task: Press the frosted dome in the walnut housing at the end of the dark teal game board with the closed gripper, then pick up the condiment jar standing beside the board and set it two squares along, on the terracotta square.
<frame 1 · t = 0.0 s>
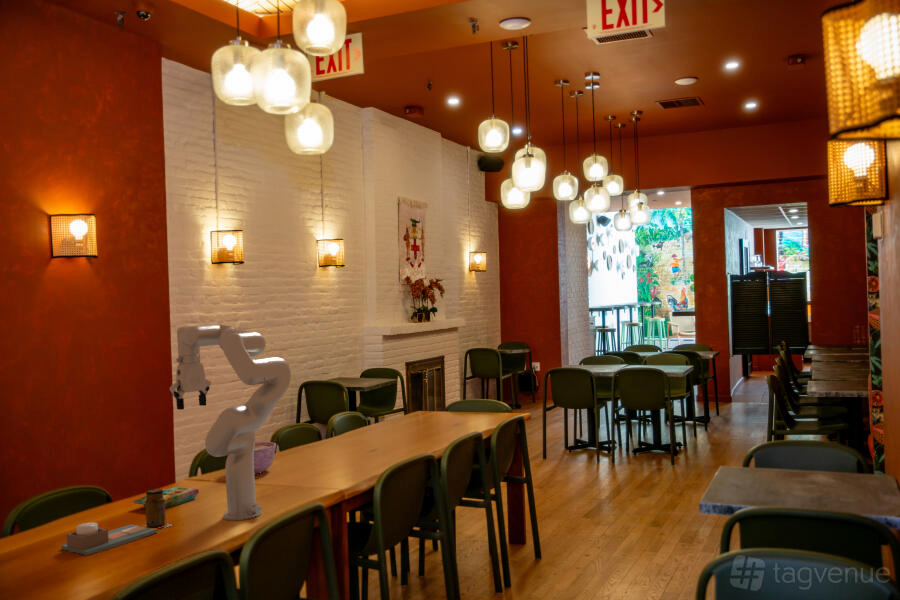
hand: (191, 407, 277), 37 cm above the table, tool pointing down, fingers open, 9 cm apart
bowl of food: (254, 473, 334), on the table
dome: (87, 530, 236), point 5 cm above the table, slide at -0.1 cm
board: (110, 541, 242), on the table
condiment: (157, 527, 256), on the table
puzzle game: (167, 505, 286), on the table
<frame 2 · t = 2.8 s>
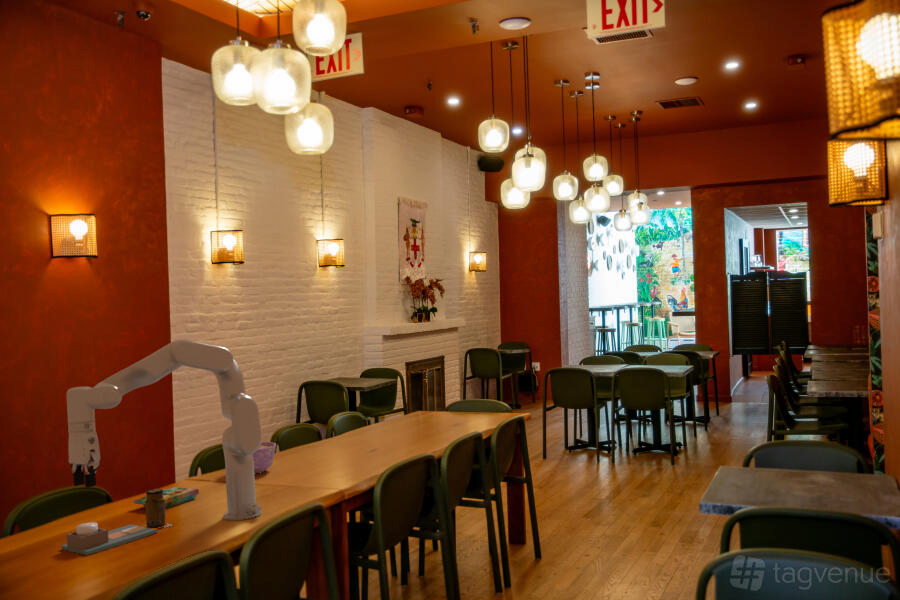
hand: (84, 485, 236), 19 cm above the table, tool pointing down, fingers open, 5 cm apart
nothing on the table moved.
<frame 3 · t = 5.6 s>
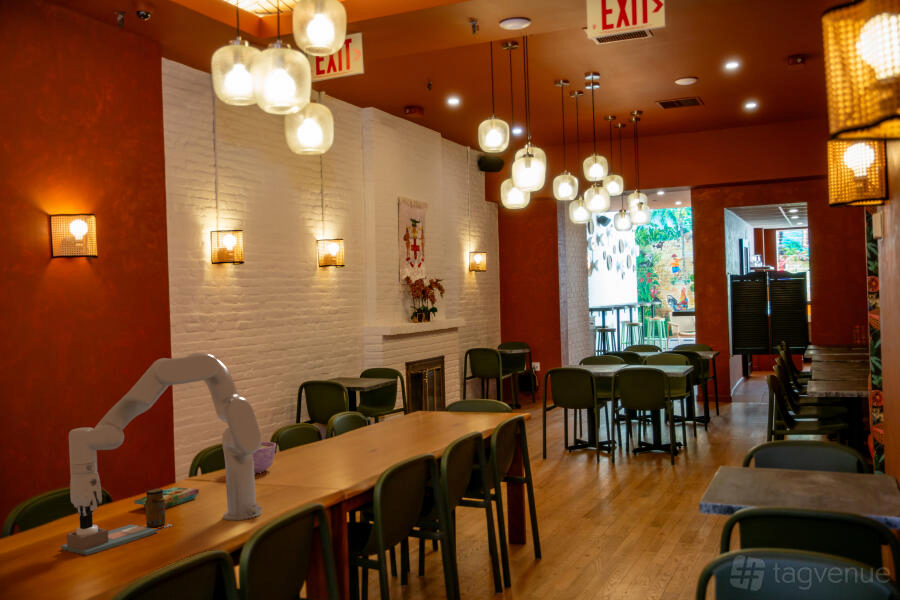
hand: (86, 527, 236), 6 cm above the table, tool pointing down, fingers closed
dome: (87, 532, 236), point 5 cm above the table, slide at -0.9 cm, touching gripper
everything else where it was.
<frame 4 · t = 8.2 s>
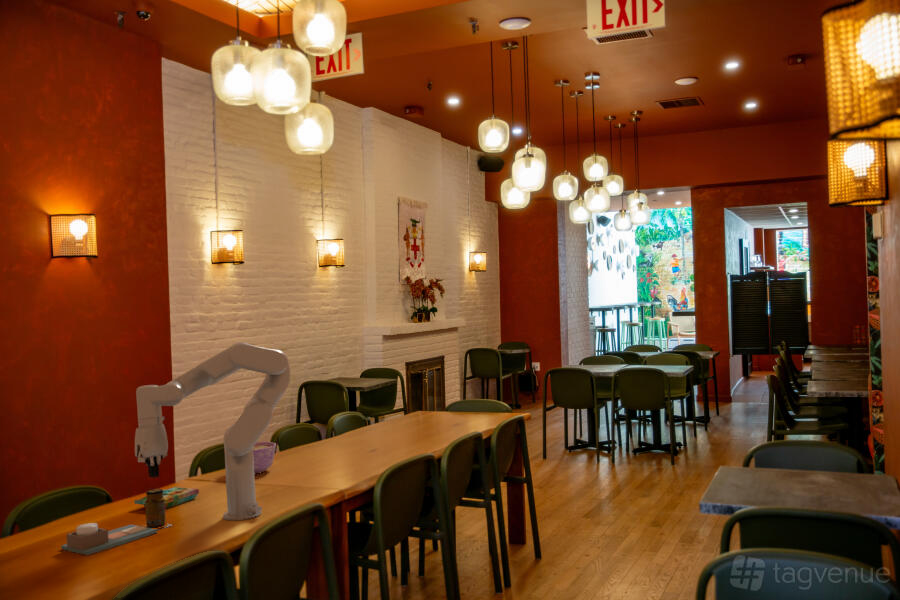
hand: (154, 476, 256), 17 cm above the table, tool pointing down, fingers closed
dome: (87, 531, 236), point 5 cm above the table, slide at -0.4 cm
everything else where it was.
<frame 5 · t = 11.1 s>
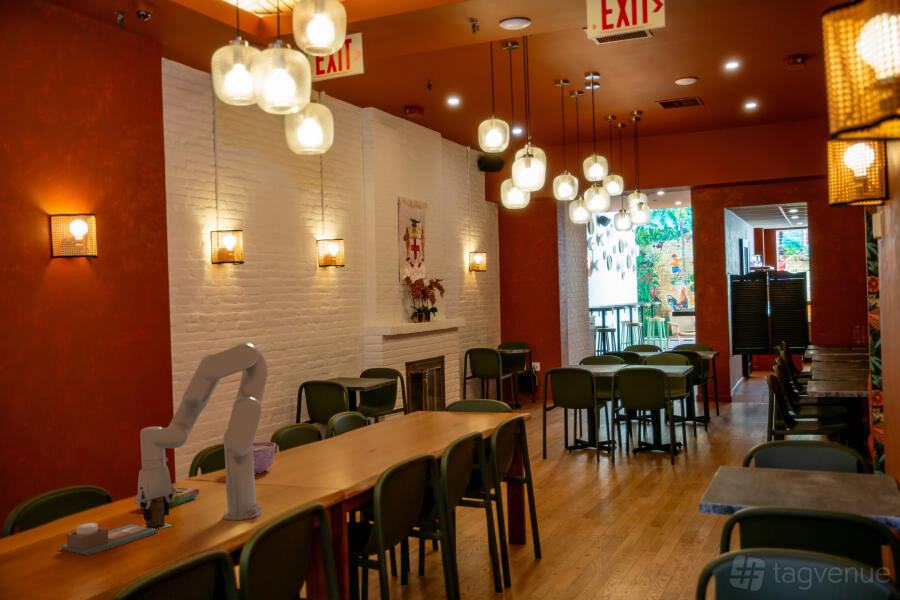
hand: (156, 517, 256), 3 cm above the table, tool pointing down, fingers closed on condiment, 6 cm apart
condiment: (156, 527, 256), on the table, touching gripper
everything else where it was.
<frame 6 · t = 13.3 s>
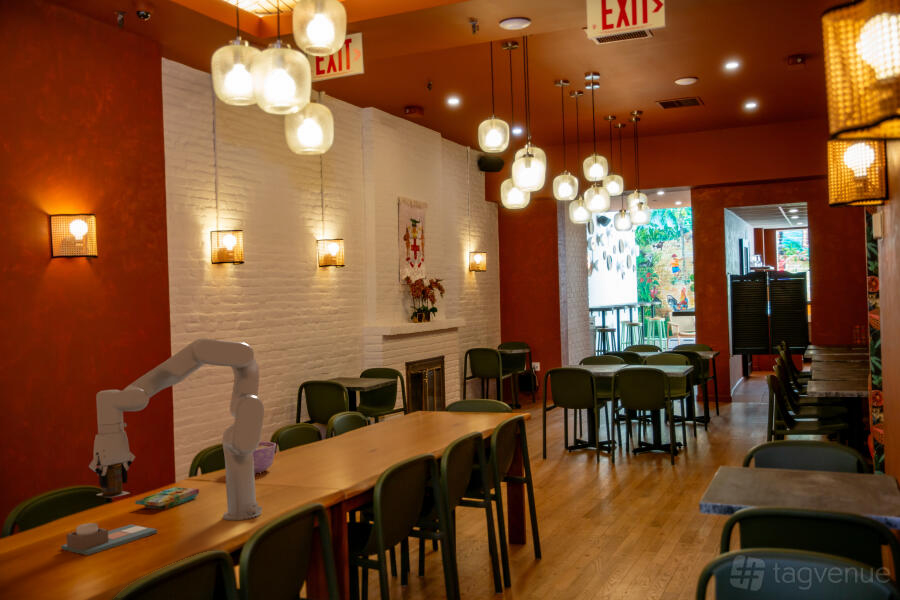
hand: (113, 484, 244), 17 cm above the table, tool pointing down, fingers closed on condiment, 6 cm apart
condiment: (113, 495, 244), point 14 cm above the table, touching gripper
everything else where it was.
when the fingers open (6 cm above the table, at t = 15.7 s): condiment drops 2 cm, resting on board.
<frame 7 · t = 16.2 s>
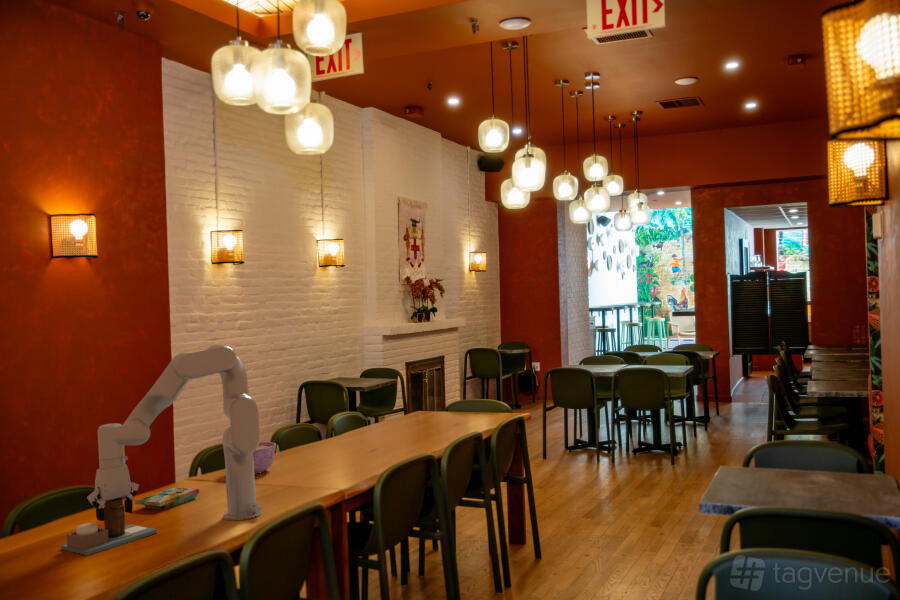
hand: (115, 516, 244), 7 cm above the table, tool pointing down, fingers open, 9 cm apart
condiment: (115, 535, 244), point 1 cm above the table, touching board
everything else where it was.
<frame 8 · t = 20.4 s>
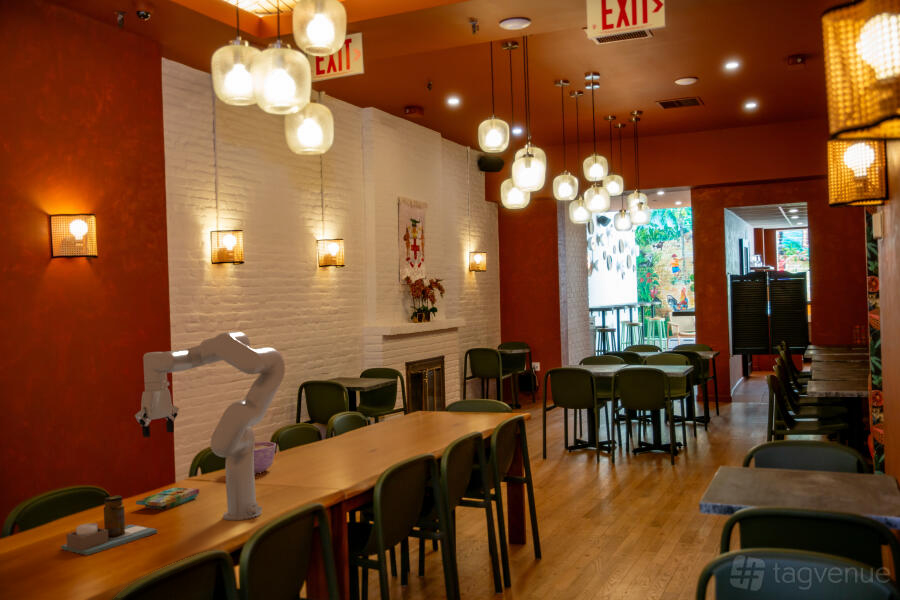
hand: (158, 434, 272), 28 cm above the table, tool pointing down, fingers open, 9 cm apart
at the end: condiment inside the target area (0.0 cm from its centre), point 1.1 cm above the table; condiment tilted 0°; the gripper is holding nothing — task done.
